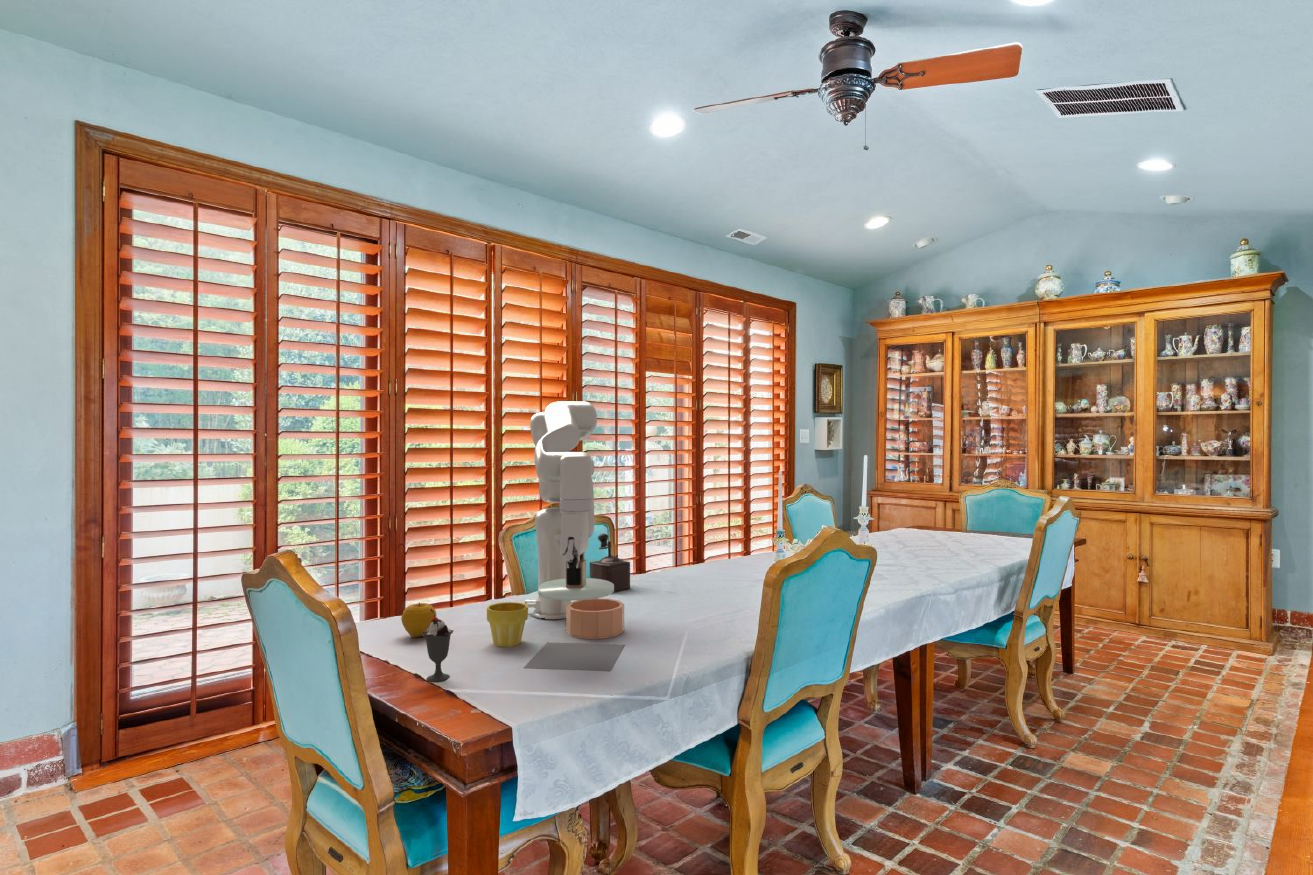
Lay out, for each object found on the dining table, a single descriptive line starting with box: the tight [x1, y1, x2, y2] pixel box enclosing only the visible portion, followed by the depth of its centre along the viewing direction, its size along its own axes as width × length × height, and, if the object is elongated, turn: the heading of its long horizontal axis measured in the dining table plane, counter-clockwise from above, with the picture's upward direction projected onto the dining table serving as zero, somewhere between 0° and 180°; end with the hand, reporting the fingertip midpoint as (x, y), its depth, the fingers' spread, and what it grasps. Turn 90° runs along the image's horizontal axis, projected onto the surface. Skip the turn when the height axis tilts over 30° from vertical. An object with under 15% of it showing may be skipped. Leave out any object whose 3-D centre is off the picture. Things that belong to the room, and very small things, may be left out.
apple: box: [400, 602, 437, 638], centre depth 189 cm, size 9×9×9 cm
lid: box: [537, 559, 615, 601], centre depth 170 cm, size 18×18×7 cm
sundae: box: [422, 609, 454, 683], centre depth 156 cm, size 7×7×15 cm
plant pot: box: [486, 601, 529, 648], centre depth 181 cm, size 10×10×10 cm
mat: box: [523, 641, 626, 672], centre depth 170 cm, size 20×20×1 cm
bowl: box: [565, 598, 625, 640], centre depth 192 cm, size 15×15×8 cm
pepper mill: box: [589, 533, 631, 593], centre depth 249 cm, size 16×11×18 cm
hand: (576, 581), depth 170 cm, fingers closed on lid, 4 cm apart
